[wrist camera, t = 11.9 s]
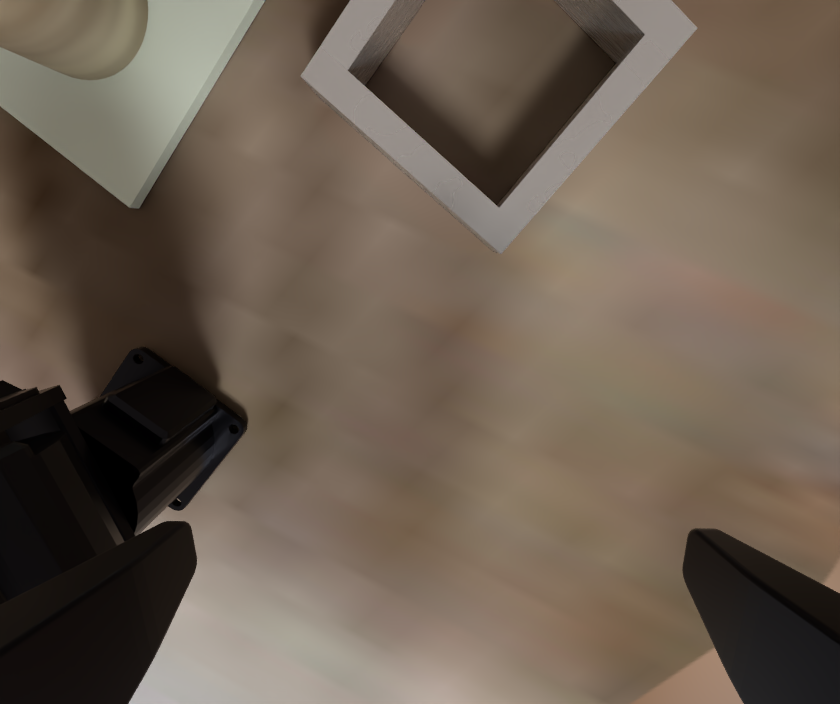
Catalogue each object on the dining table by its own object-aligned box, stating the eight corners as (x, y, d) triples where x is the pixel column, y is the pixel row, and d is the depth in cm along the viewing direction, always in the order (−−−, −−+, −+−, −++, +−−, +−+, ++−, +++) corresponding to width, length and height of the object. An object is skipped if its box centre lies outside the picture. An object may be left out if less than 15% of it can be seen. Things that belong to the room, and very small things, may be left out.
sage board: (139, 208, 19) (129, 207, 19) (-89, 29, 18) (-107, 22, 17) (278, -22, 17) (272, -31, 16) (26, -252, 15) (10, -272, 15)
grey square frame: (493, 251, 19) (500, 253, 17) (319, 98, 18) (300, 75, 15) (660, 57, 17) (697, 28, 14) (476, -134, 16) (482, -202, 13)
